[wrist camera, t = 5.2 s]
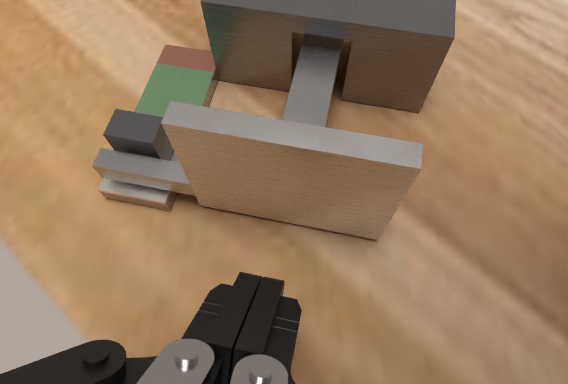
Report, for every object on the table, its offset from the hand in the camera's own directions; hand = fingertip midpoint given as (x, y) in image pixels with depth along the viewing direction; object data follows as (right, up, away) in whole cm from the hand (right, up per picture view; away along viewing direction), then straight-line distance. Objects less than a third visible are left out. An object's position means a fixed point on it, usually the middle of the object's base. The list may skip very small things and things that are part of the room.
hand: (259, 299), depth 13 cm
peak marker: (-6, +6, +8) cm, 11 cm away
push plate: (0, +7, +9) cm, 12 cm away
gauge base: (+1, +8, +10) cm, 13 cm away
